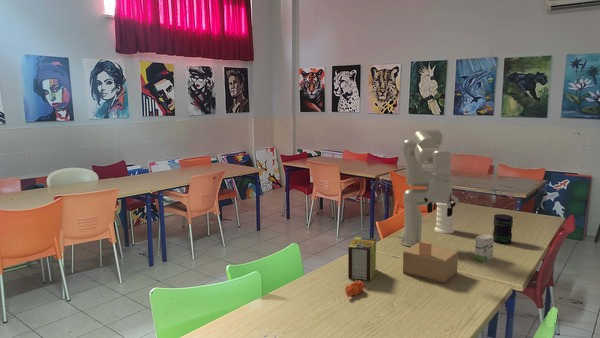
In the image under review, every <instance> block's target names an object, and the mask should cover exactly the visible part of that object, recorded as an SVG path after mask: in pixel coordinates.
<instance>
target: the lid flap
mask: <svg viewBox="0 0 600 338" xmlns="http://www.w3.org/2000/svg"><path fill="white" fill-rule="evenodd" d="M402 253H405V254H410V255H414V256H419V257H423V258H428V259H432V260H436V261H441V262H447V261H448V260H449V259H450V258H452V257H453V256H454V255H456V254H457V253H458V254H459V251H458V250H455V249H450V248H445V247H442V246H441V247H440V246H435V245H433V243H432V242H428V241H423V240H422V241H420V242H419V243H417V244H415V245H413V246H412V247H408V248H407V249H405V250H403V252H402Z"/></svg>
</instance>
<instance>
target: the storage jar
mask: <svg viewBox="0 0 600 338" xmlns="http://www.w3.org/2000/svg"><path fill="white" fill-rule="evenodd" d="M513 220H514V217H513V216H512V215H509V214H503V213H502V214H501V213H500V214H499V213H498V214H497V213H496V214H494V215H493V232H492V236H493V237H494V239H493V243H495V244H498V245H511V244H512V238H513V232H512V229H513Z"/></svg>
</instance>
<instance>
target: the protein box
mask: <svg viewBox="0 0 600 338" xmlns="http://www.w3.org/2000/svg"><path fill="white" fill-rule="evenodd" d="M347 248H348V249H347V250H348V253H347V254H348V255H347V256H348V260H347V261H348V263H347V264H348V265H347V266H348V270H347V271H348V274H347V275H348V276H347V277H349V278H356V279H363V280H362V281H365V280H369V281H368V282H371V280H372V278H373V276H374V274H375V272H376V270H375V269H376V268H377V266H376V265H377V263H376V262H377V239H376V238H370V237H369V238H368V237H359V236H354V238H353V240H352V241H351V242H350V243H349V246H348V247H347ZM374 271H375V272H374ZM373 273H374V274H373ZM349 278H348V279H349ZM356 279H355V280H356Z"/></svg>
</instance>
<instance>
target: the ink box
mask: <svg viewBox="0 0 600 338" xmlns="http://www.w3.org/2000/svg"><path fill="white" fill-rule="evenodd" d="M493 239H494V237H493V235H489V234H486V233H484V234H480V235H476V237H475V249H474V250H475V252H474V260H478V261H480V262H485V261H488V260H492V259H493V257H494V256H493V252H494V242H493Z"/></svg>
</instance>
